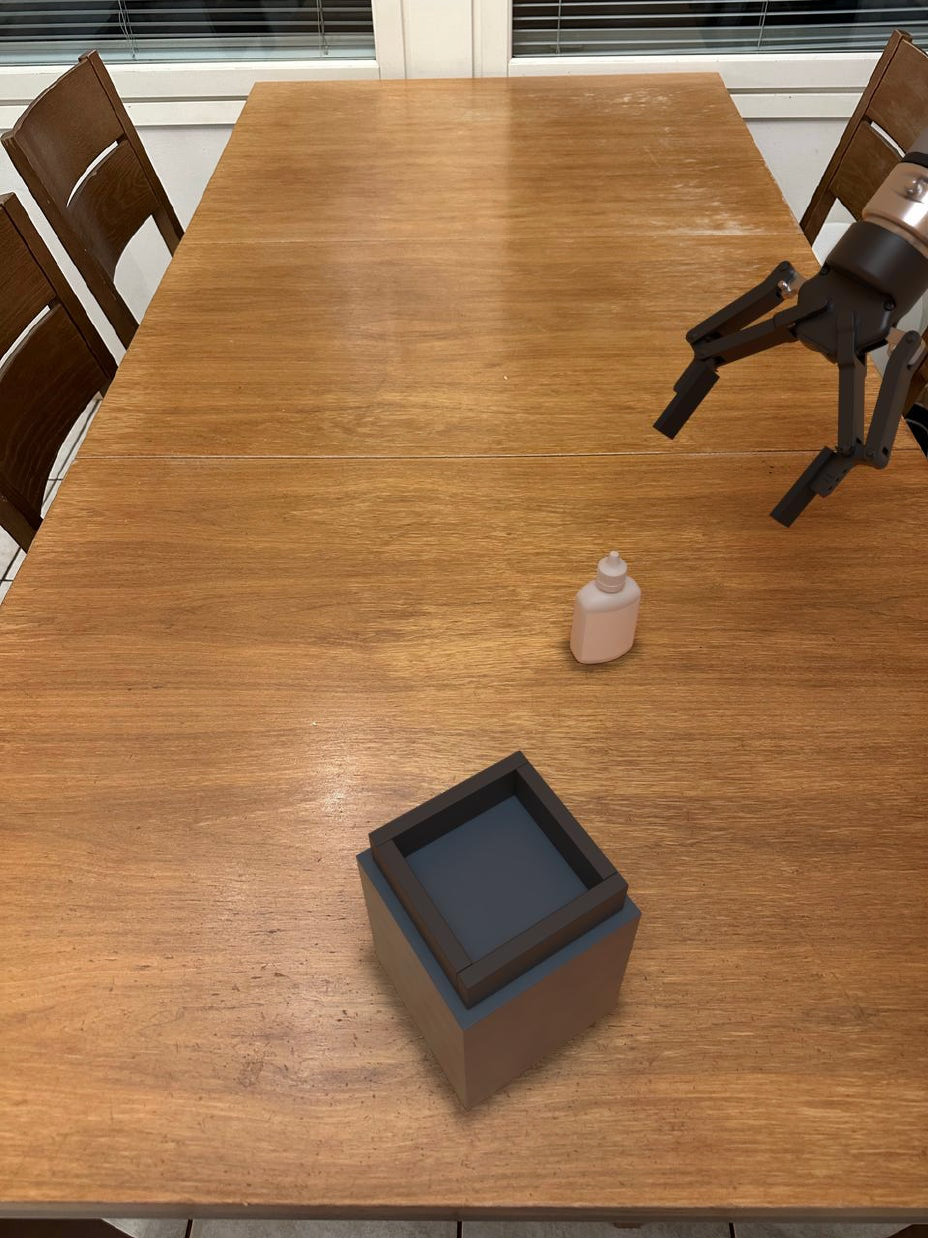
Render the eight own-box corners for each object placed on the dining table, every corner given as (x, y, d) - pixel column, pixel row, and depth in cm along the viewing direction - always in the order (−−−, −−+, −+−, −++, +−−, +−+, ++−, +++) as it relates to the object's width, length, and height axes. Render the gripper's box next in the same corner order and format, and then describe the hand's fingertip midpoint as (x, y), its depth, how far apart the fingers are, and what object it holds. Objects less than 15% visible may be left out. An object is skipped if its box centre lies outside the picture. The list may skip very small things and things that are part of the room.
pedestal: (615, 1008, 65) (649, 888, 51) (467, 1112, 60) (462, 1011, 47) (515, 872, 71) (522, 735, 58) (376, 956, 67) (349, 830, 54)
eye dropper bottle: (630, 670, 84) (648, 576, 75) (567, 663, 85) (577, 569, 76) (633, 634, 87) (650, 539, 78) (572, 627, 88) (582, 532, 79)
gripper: (759, 161, 75) (598, 387, 82) (1037, 294, 61) (817, 554, 68) (792, 207, 81) (640, 414, 88) (1053, 338, 67) (849, 573, 73)
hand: (717, 475), depth 78 cm, fingers open, 13 cm apart
